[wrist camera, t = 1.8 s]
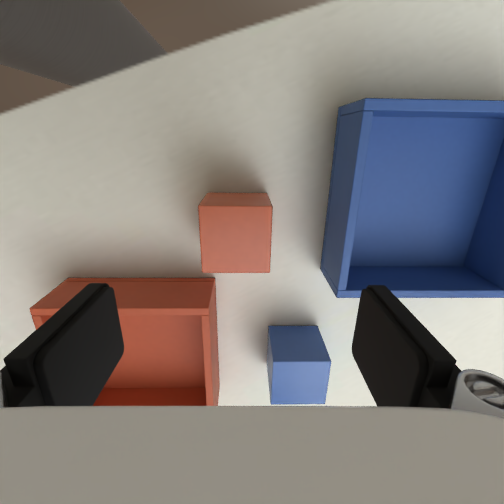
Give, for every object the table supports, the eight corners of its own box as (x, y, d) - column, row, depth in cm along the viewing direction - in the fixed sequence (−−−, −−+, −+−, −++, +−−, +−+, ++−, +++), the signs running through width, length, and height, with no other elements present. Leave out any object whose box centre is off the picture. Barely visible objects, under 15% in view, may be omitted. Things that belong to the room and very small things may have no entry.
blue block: (268, 325, 26) (272, 361, 22) (317, 325, 26) (331, 361, 22) (266, 364, 27) (270, 404, 23) (312, 363, 28) (325, 404, 23)
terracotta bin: (68, 277, 24) (28, 308, 19) (215, 277, 24) (208, 308, 20) (96, 387, 28) (69, 432, 24) (219, 386, 28) (214, 430, 24)
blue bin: (338, 106, 19) (364, 97, 15) (513, 109, 20) (588, 101, 15) (320, 269, 24) (336, 298, 20) (462, 269, 24) (509, 298, 20)
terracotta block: (207, 192, 21) (197, 205, 17) (267, 192, 21) (272, 206, 17) (209, 248, 23) (201, 273, 19) (265, 248, 23) (270, 273, 19)
